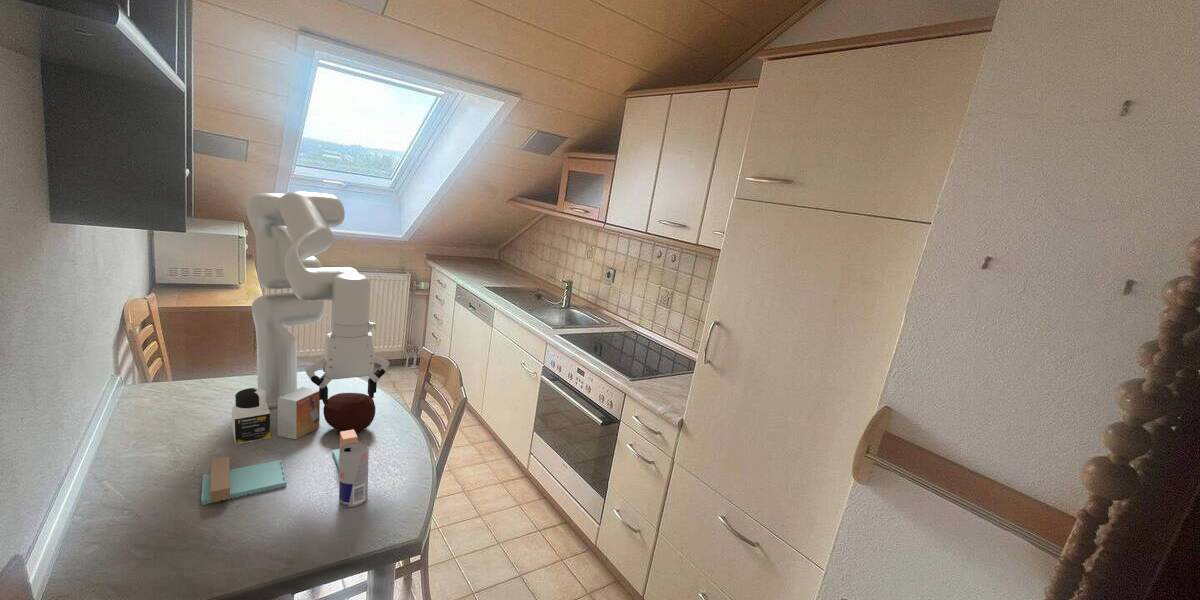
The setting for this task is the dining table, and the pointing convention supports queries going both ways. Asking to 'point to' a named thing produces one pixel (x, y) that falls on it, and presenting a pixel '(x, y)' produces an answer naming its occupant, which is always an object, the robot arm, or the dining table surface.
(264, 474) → the teal plate with bar
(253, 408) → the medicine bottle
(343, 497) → the energy drink
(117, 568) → the dining table surface
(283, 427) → the small box
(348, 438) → the stub
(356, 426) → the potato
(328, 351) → the robot arm
